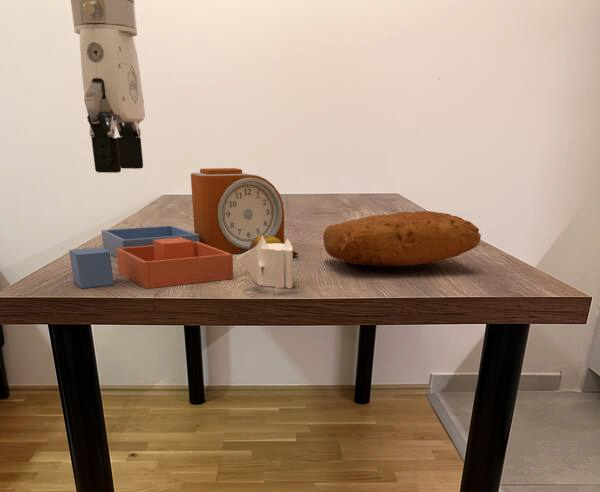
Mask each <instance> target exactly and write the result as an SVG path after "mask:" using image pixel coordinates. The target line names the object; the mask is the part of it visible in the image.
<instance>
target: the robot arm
mask: <svg viewBox="0 0 600 492" xmlns="http://www.w3.org/2000/svg"><path fill="white" fill-rule="evenodd" d="M70 6H71V7H70V8H71V13H72V22H73V30H74V31H73V32H74V33H75V34H77V35H79V53H80V66H81V79H82V87H83V95H84V97H83V98H84V99H83V102H84V105H85V108H86V112H87V116H86V120H87V122H88V123H89V136H90V138H91V145H92V146H91V147H92V154H93V162H94V170H95V172H96V173H103V174H105V173H106V174H107V173H108V174H109V173H113V174H118V173H121V171H122V169H128V170H129V169H133V170H134V169H136V170H137V169H138V170H140V169H141V170H142V169H143V167H144V159H143V158H144V157H143V148H142V138H141V129H140V125H139V124H140V123H141V122H143V121H144V120H145V118H146V111H145V102H144V95H143V87H142V77H141V72H140V64H139V59H138V53H137V47H136V43H135V39H134V37H136V36H138V28H137V27H138V26H137V16H136V5H135V0H70ZM116 130H117V132H118V135H119V136H117V137H115V135H116Z"/></svg>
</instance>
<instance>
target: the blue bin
mask: <svg viewBox="0 0 600 492" xmlns="http://www.w3.org/2000/svg"><path fill="white" fill-rule="evenodd" d="M100 231H101V239H102V248H103V249H105V250H107V251H109V252H110V253H111V254H110V256H113V257H115V258H116V259H117V253H116V248H125V247H137V246H149V245H153V240H155V239H168V238H181V237H182V238H184V239H187V240H190V241H192V242H200V241H199V235H198V234H195V233H194V232H192V231H190V230H186V229H184V228H181V227H178V226H175V225H161V226H160V225H157V226H144V227H130V228H114V229H101V230H100Z"/></svg>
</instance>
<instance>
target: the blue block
mask: <svg viewBox="0 0 600 492" xmlns="http://www.w3.org/2000/svg"><path fill="white" fill-rule="evenodd" d="M68 252H69V258H70V265H71V266H70V267H71V273H72V279H73V283H74V284H75V285H76V286H78V287H79V288H80V289H90V288H98V287H107V286H115V282H114V274H113V265H112V255H111V254H110V252H109V251H107V250H105V249H104V247H103V246H101V247H100V246H99V247H87V248H75V249H69V250H68Z"/></svg>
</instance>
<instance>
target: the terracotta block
mask: <svg viewBox="0 0 600 492" xmlns="http://www.w3.org/2000/svg"><path fill="white" fill-rule="evenodd" d="M153 246H154V257H155V261H157V260H168V259H179V258H190V257H194V253H193V242H192V241H190V240H187V239H184V238H182V237H181V238H168V239H155V240H153Z"/></svg>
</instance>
